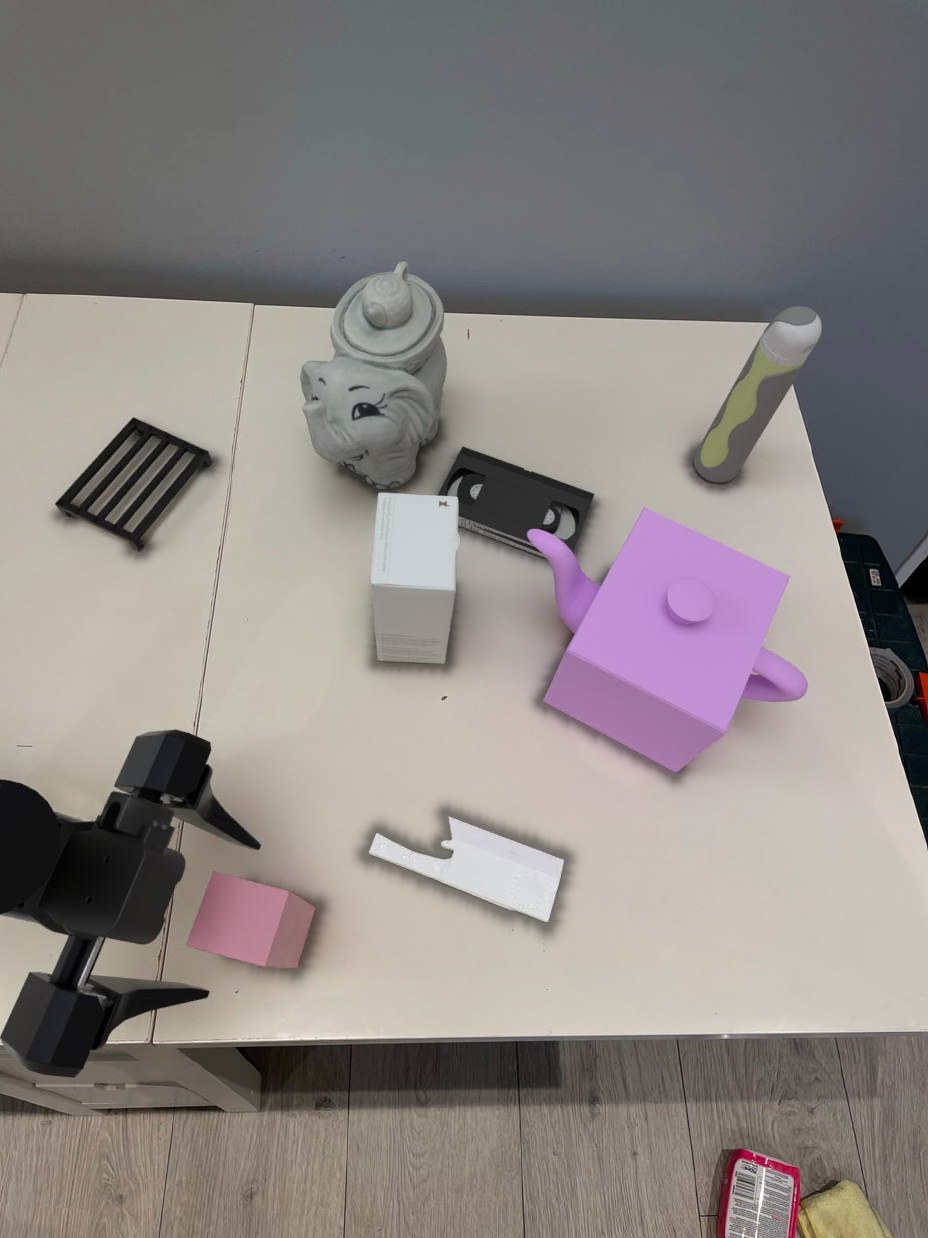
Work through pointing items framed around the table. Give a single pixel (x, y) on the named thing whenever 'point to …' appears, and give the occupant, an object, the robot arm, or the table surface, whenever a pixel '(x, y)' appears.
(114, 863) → the robot arm
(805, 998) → the table surface
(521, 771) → the table surface
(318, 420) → the elephant cookie jar
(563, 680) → the teapot
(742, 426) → the spray bottle
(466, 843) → the butcher knife
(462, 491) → the vhs tape
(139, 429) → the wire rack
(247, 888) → the pink box
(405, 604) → the cosmetic box
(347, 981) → the table surface
